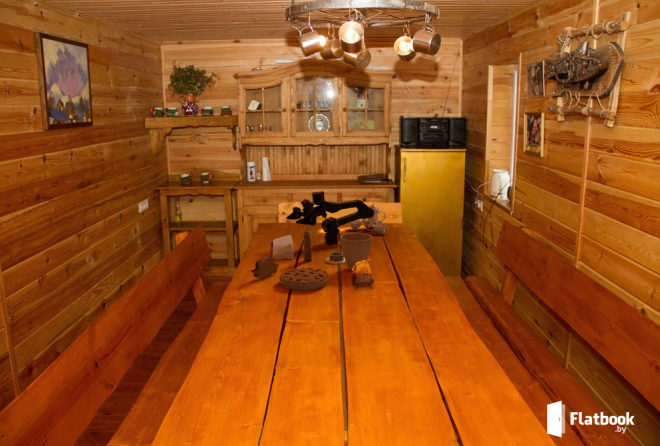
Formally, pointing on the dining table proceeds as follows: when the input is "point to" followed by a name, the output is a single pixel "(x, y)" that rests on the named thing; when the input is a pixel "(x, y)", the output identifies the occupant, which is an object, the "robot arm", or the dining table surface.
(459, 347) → the dining table surface
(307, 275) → the pie
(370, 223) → the chinaware
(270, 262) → the wooden carving
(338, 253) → the cup bracket
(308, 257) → the brown tapered rod
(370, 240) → the plant pot
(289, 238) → the decorative molding
